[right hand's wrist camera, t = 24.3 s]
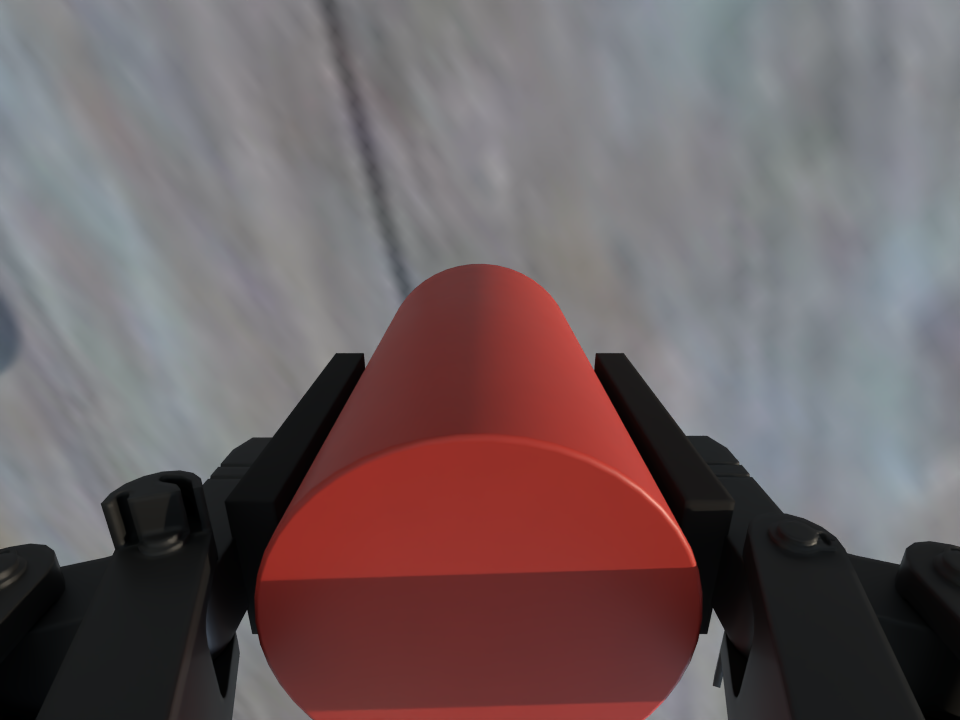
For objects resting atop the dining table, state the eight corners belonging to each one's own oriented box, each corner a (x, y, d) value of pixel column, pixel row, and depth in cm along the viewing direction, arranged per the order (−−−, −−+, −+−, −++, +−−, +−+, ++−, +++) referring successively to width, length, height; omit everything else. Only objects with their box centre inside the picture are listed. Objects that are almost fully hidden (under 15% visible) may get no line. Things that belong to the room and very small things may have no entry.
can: (592, 282, 17) (777, 481, 6) (547, 448, 19) (630, 798, 8) (400, 246, 16) (258, 395, 6) (377, 420, 19) (245, 752, 8)
